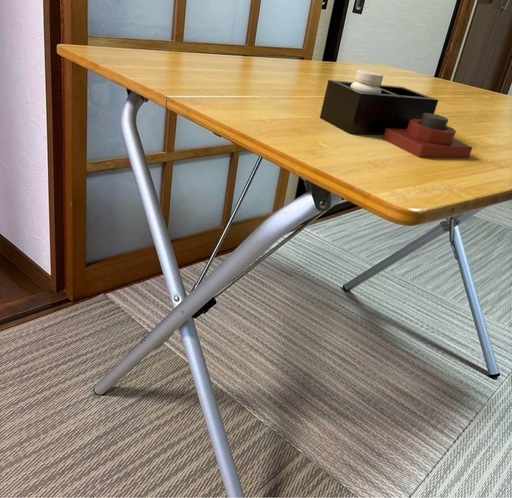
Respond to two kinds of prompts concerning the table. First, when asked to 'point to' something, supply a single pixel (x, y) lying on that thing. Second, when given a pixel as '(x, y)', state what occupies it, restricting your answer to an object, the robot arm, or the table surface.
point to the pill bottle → (367, 82)
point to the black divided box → (373, 108)
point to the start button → (434, 121)
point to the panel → (427, 141)
